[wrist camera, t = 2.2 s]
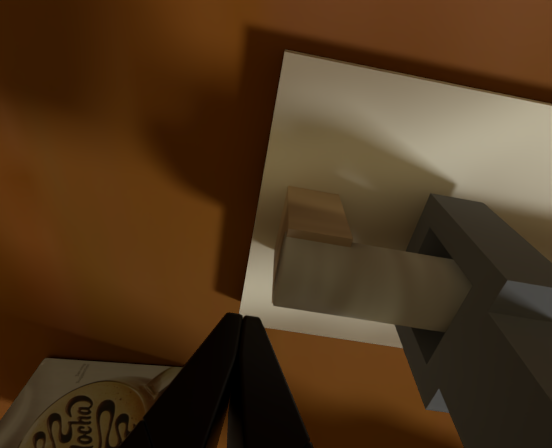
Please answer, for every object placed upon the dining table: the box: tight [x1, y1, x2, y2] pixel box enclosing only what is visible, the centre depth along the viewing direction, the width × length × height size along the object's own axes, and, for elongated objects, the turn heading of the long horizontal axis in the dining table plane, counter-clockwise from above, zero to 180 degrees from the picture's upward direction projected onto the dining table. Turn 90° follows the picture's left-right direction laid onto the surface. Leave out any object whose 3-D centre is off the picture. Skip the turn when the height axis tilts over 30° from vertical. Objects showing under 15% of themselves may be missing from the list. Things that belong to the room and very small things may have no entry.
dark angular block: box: [395, 193, 552, 448], centre depth 10 cm, size 5×2×8 cm, turn 170°
